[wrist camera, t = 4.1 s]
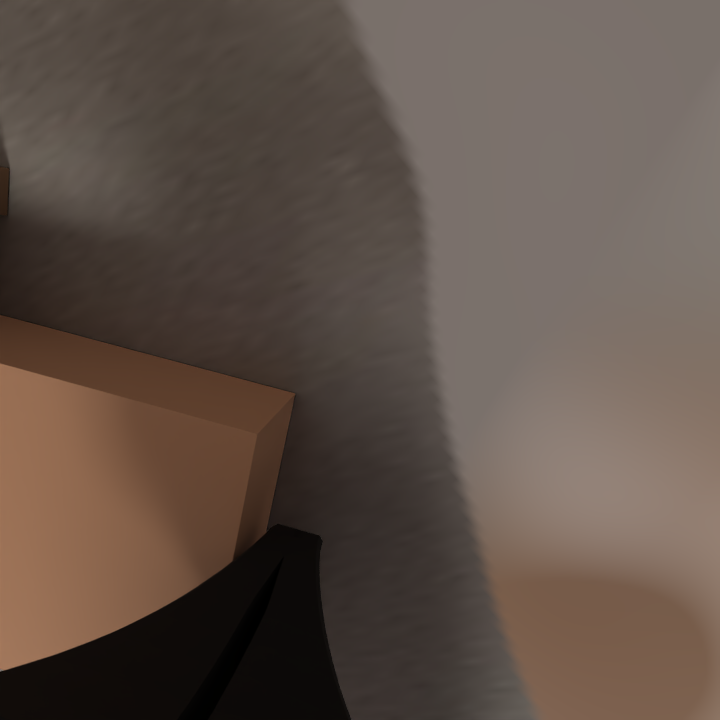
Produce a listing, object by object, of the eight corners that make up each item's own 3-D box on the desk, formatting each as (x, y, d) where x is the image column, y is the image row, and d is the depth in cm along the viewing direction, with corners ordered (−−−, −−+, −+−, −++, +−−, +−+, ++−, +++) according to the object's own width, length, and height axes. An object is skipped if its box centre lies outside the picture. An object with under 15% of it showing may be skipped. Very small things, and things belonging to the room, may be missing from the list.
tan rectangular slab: (244, 634, 14) (198, 733, 11) (-105, 527, 15) (-235, 592, 12) (295, 393, 12) (257, 433, 9) (-106, 286, 13) (-260, 292, 10)
